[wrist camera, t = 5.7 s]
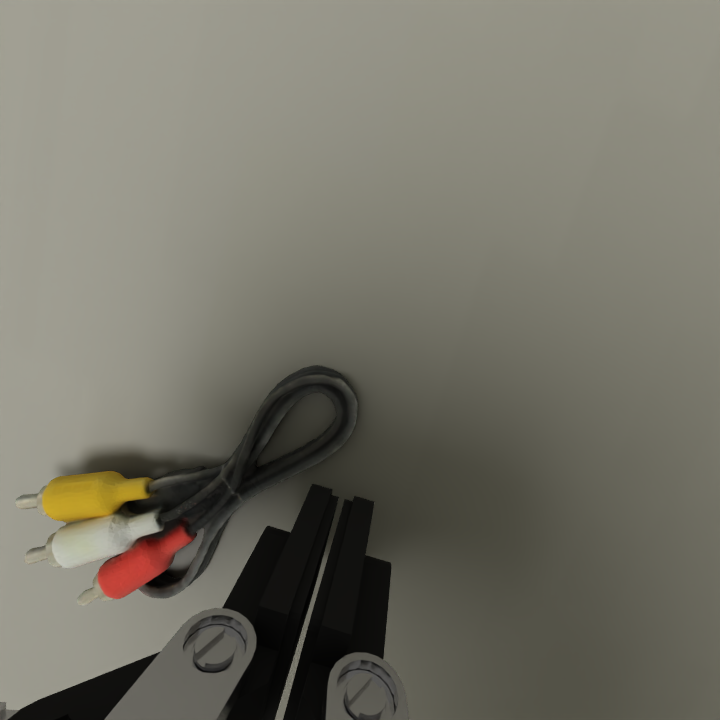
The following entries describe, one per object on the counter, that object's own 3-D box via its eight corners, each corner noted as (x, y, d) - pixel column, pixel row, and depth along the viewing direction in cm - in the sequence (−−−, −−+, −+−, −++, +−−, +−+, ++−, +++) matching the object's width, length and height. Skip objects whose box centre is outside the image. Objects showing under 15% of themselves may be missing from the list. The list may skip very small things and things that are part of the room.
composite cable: (336, 341, 11) (314, 368, 9) (413, 494, 12) (411, 557, 10) (56, 470, 13) (-22, 519, 11) (137, 591, 14) (82, 661, 12)
